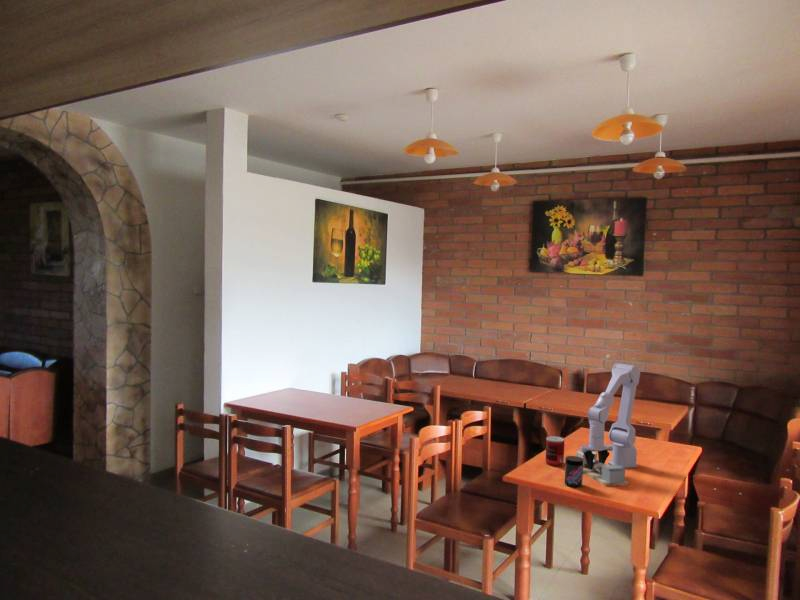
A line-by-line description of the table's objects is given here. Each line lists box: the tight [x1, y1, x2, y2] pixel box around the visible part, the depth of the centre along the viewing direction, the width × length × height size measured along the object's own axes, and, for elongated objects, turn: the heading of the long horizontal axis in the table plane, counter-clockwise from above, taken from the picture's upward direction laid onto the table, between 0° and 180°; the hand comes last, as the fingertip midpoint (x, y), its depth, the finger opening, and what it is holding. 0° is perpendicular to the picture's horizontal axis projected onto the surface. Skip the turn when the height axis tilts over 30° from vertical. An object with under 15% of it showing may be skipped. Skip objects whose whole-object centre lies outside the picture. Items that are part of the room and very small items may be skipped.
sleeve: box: [575, 450, 598, 467], centre depth 246 cm, size 5×7×5 cm
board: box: [583, 464, 630, 487], centre depth 237 cm, size 27×10×1 cm, turn 14°
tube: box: [584, 458, 606, 474], centre depth 241 cm, size 19×4×4 cm, turn 14°
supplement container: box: [564, 455, 584, 489], centre depth 224 cm, size 7×7×10 cm
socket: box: [602, 464, 626, 483], centre depth 227 cm, size 5×7×5 cm
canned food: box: [545, 435, 565, 467], centre depth 249 cm, size 8×8×11 cm
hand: (595, 468), depth 239 cm, fingers open, 4 cm apart
